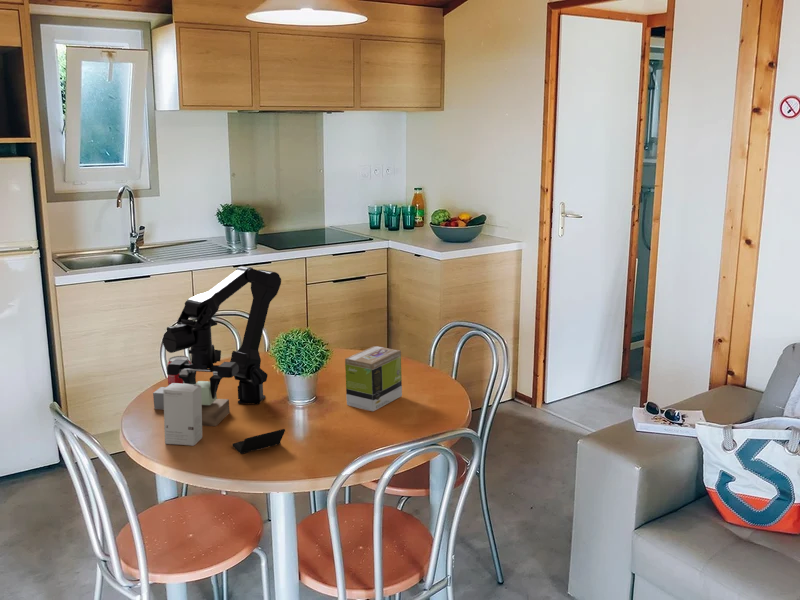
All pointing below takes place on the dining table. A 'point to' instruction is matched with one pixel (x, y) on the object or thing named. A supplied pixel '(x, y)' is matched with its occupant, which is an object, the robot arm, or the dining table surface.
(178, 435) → the skincare box
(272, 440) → the black angled piece
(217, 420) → the walnut slab
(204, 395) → the sage block
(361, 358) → the tea box
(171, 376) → the soda can
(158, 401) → the grey block
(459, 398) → the dining table surface
